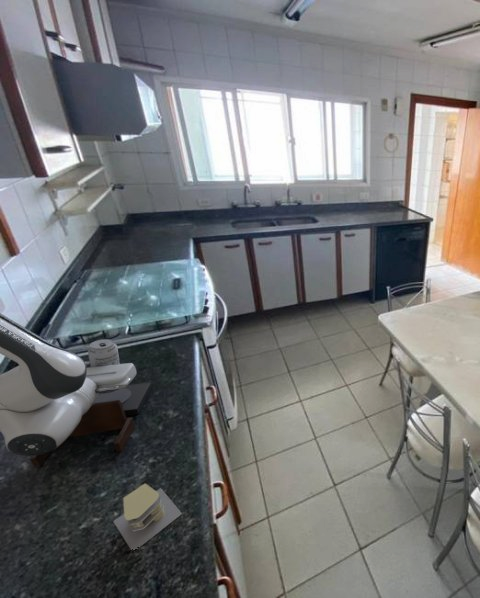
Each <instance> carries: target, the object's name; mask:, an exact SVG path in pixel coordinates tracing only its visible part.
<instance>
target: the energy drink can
mask: <svg viewBox="0 0 480 598" xmlns="http://www.w3.org/2000/svg"><path fill="white" fill-rule="evenodd" d="M87 354H88V361H90V367H99V366H107V365H110V364H112V365H117V364H121V363H120V357H119V356H120V355H119V348H118V345H117V344H116V343H115V341H114V340H112V339H109V338H102V339H98V340H94V341H92V342H91V343H90V344H89V348H88V349H87ZM115 391H116V390H115ZM111 392H114V391H107V392H100V393H102V394H106V393H111Z"/></svg>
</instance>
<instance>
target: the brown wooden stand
mask: <svg viewBox="0 0 480 598" xmlns="http://www.w3.org/2000/svg"><path fill="white" fill-rule="evenodd" d="M135 427H136V424H135V421H134V418H133V417H127V416H126V415H125V413H124V410H123V407H122V404H121V402H120V400H115V401H108V402H101V403H94V404H92V405H91V407H90V408H89V410H88V411H87V412H86V413H85V414H84V415H82V418H81V420H80V422H79V424H78V425H77V427H76V428H75V429H74V430H73V432H72V433H71V434H70V435H69V436H68V438H72V437H78V436H85V435H91V434H92V435H93V434H97V433H102V432H110V431H117V430H120V431H119V433H118V435H117V437H116V439H115V440H114V442H113V446H114V449H115V451H116V453H122V452H123V450H124V448H125V446H126V444H127V442H128V440H129V439H130V436H131V434H132V432H133V430H134V429H135ZM51 452H52V451H50V452H47V453H44V454H41V455H35V456H30V458H29V460H30V461H31V463H32V465H33V467H34V468H38V467H41V466H42V465H43V463H44V462H45V460H46V459H47V458H48V456H49V455H50V453H51Z"/></svg>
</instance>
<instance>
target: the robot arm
mask: <svg viewBox="0 0 480 598" xmlns="http://www.w3.org/2000/svg"><path fill="white" fill-rule="evenodd" d="M0 355H2V356H4V357H6V358H8V359H9V360H11V361H13V362H15V363H17V364H18V365H17V366H15V367H13V368H12V369H10V370H8V371H6V372H3V373H1V374H0V433H1V435H2V436H3V439H4V444H5V448H6V449H7V450H8V451H9V452H11V453H13V454H15V455H17V456H22V457H23V456H24V457H31V456H35V455H41V454H44V453H47V452H50V451H51V452H52V451H54V450H56V449H57V448H59V447H60V446H61V445H62V444H63V443H64V442H65V441H66V440H67V439H68V438H69V437H68V436H69V435H70V434H71V433H72V432H73V430H74V429H75V428H76V427H77V425H78V424H79V422H80V420H81V418H82V415H84V414H85V413H86V412H87V411H88V410H89V408H90V407H91V405H92V404H93V403H94V401H95V400H96V398H97V397H98V395H99V393H100V392H107V391H115V390H120V389H122V388H124V387H126V386H127V385H130V383H131V382H132V381H133V380H134V379H135V377H136V376H137V368H136V366H135V365H134V364H133V363H132V362H127V363H120V364H117V365H112V364H110V365H107V366H99V367H90V361H89V360H87V361H85V360H84V359H83V358H82V357H81V356H80V355H78V354H76V353H75V352H73V351H70V350H68V349H66V348H63V347H60V346H58V345H56V344H54V343H52V342H50V341H48V340H46V339H45V338H43V337H41V336H40V335H38V334H37V333H34V332H33V331H31V330H30V329H28V328H26V327H24V326H23V325H21V324H20V323H18V322H16V321H15V320H13V319H11V318H9V317H8V316H7V315H4V314H3V313H1V312H0ZM51 452H50V453H51Z"/></svg>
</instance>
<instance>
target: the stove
mask: <svg viewBox="0 0 480 598" xmlns="http://www.w3.org/2000/svg"><path fill="white" fill-rule="evenodd" d="M152 389H153V385H152V382H150V381H149V382H143V383H142V382H141V383H135V384H128V385H127V386H126V387H124V388H122V389H120V390H116V391H114V392H111V393H106V394H102V393H99V395H98V397H97V398H96V400H95V401H94V403H101V402H108V401H115V400H120V402H121V404H122V407H123V410H124V413H125V415H126V417H128V416H134V415H139V414H140V412H141V410H142V408H143V406H144V405H145V402H146V401H147V398H148V396H149V395H150V392H151V391H152ZM94 403H93V404H94Z"/></svg>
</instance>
